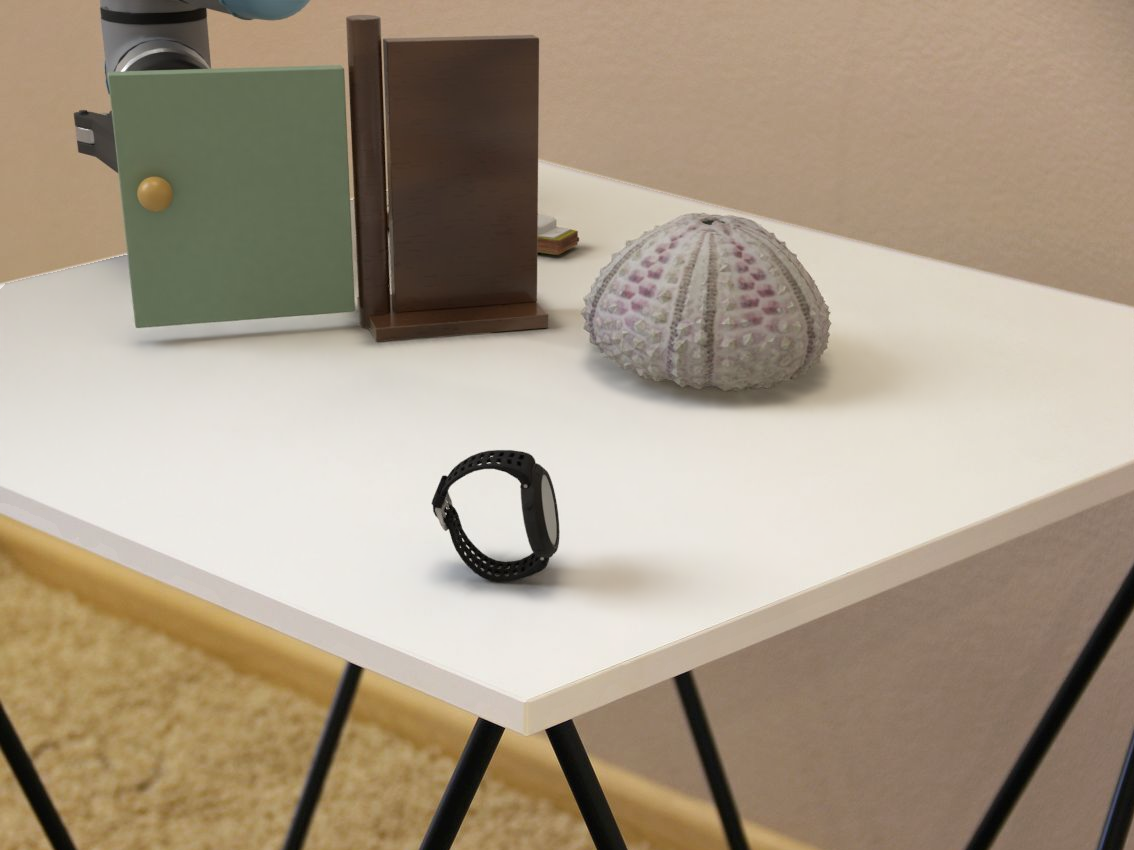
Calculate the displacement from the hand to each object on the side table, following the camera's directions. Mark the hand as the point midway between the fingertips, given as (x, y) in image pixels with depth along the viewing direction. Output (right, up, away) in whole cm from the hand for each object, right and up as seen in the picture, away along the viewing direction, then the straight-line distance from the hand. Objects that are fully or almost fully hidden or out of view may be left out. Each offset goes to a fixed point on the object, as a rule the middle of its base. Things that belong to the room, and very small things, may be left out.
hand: (199, 187), depth 85 cm
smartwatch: (+18, -20, -24) cm, 36 cm away
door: (+3, -8, 0) cm, 8 cm away
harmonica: (+14, 0, +20) cm, 24 cm away
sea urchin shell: (+28, -10, -2) cm, 30 cm away
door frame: (+13, -7, +4) cm, 16 cm away
